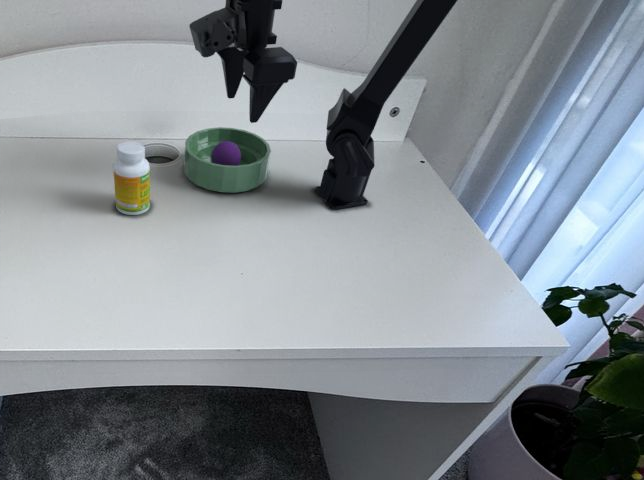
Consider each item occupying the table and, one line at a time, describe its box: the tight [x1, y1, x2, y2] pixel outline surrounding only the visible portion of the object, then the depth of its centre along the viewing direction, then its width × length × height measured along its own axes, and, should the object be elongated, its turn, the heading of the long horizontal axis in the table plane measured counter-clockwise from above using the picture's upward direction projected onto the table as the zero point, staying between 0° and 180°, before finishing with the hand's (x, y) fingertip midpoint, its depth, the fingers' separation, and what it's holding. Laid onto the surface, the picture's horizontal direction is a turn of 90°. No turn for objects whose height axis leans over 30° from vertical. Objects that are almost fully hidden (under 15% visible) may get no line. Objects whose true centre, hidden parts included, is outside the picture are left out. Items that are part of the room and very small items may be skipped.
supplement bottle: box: [113, 140, 151, 216], centre depth 76 cm, size 5×5×10 cm
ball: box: [211, 141, 241, 166], centre depth 85 cm, size 5×5×5 cm
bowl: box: [183, 126, 272, 193], centre depth 85 cm, size 14×14×5 cm
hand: (241, 109), depth 77 cm, fingers open, 9 cm apart
